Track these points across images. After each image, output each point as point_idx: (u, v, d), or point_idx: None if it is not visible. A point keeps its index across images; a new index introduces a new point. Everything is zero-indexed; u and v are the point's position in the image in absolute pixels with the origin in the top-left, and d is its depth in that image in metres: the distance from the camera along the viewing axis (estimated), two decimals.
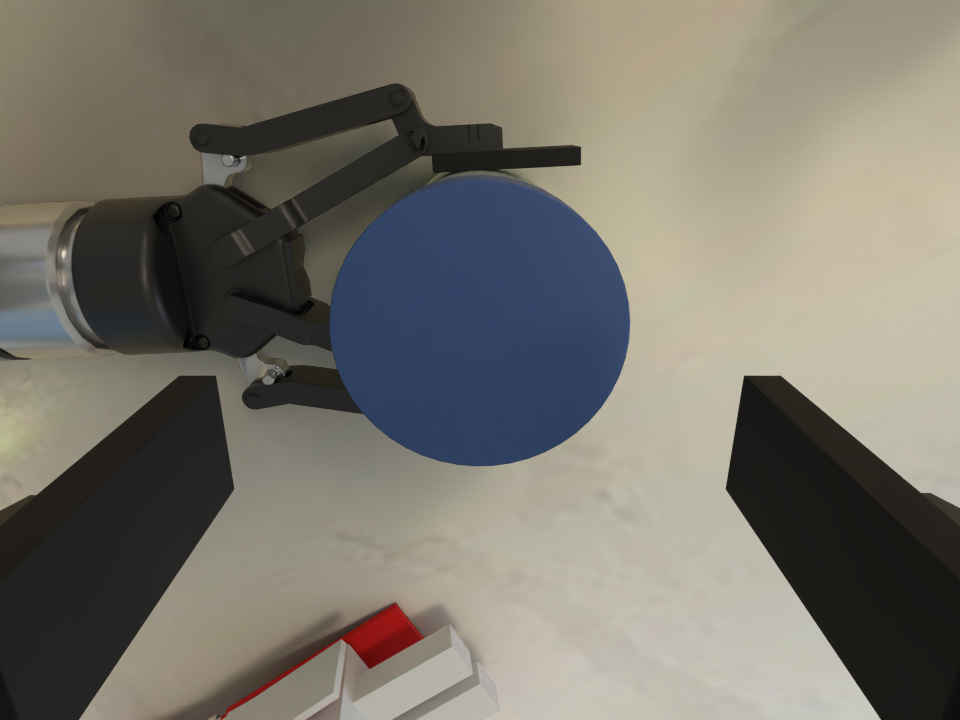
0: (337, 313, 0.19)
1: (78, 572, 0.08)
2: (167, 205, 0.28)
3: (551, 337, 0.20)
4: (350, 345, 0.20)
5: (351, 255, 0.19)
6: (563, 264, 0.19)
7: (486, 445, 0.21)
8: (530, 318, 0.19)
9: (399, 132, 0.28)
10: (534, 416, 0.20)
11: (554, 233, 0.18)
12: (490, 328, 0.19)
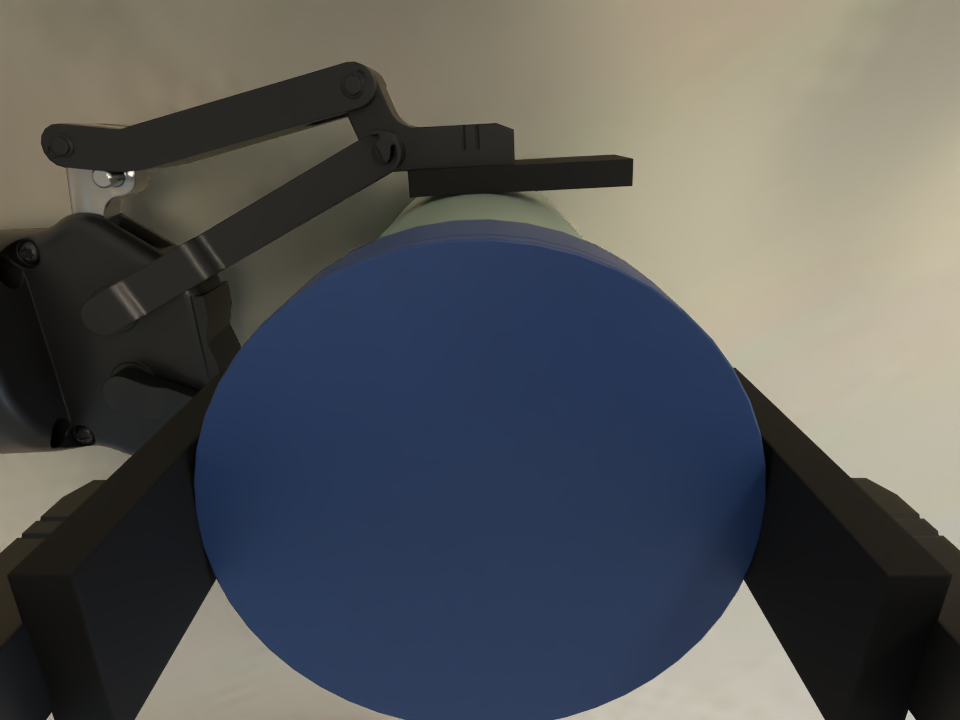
0: (207, 486, 0.10)
1: (150, 551, 0.09)
2: (19, 244, 0.19)
3: (615, 527, 0.10)
4: (237, 540, 0.10)
5: (226, 383, 0.09)
6: (644, 399, 0.10)
7: (492, 698, 0.12)
8: (577, 495, 0.10)
9: (359, 136, 0.18)
10: (579, 653, 0.11)
11: (629, 342, 0.09)
12: (500, 511, 0.10)
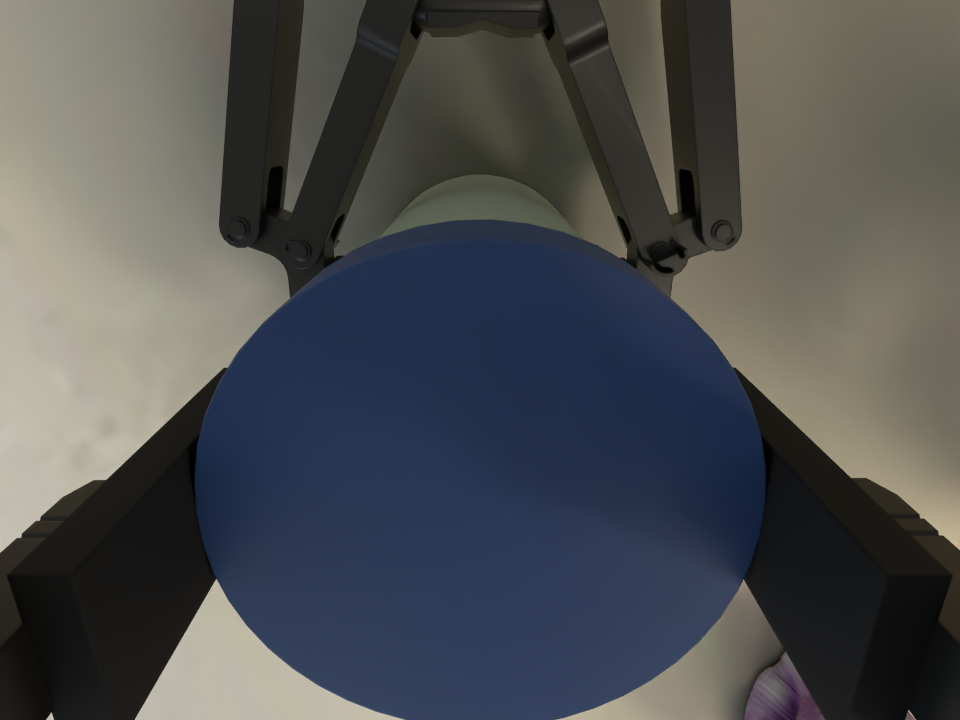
0: (208, 484, 0.10)
1: (150, 551, 0.09)
2: None
3: (615, 527, 0.10)
4: (236, 538, 0.10)
5: (228, 381, 0.09)
6: (645, 401, 0.10)
7: (490, 698, 0.12)
8: (577, 495, 0.10)
9: None
10: (578, 654, 0.11)
11: (631, 343, 0.09)
12: (500, 511, 0.10)
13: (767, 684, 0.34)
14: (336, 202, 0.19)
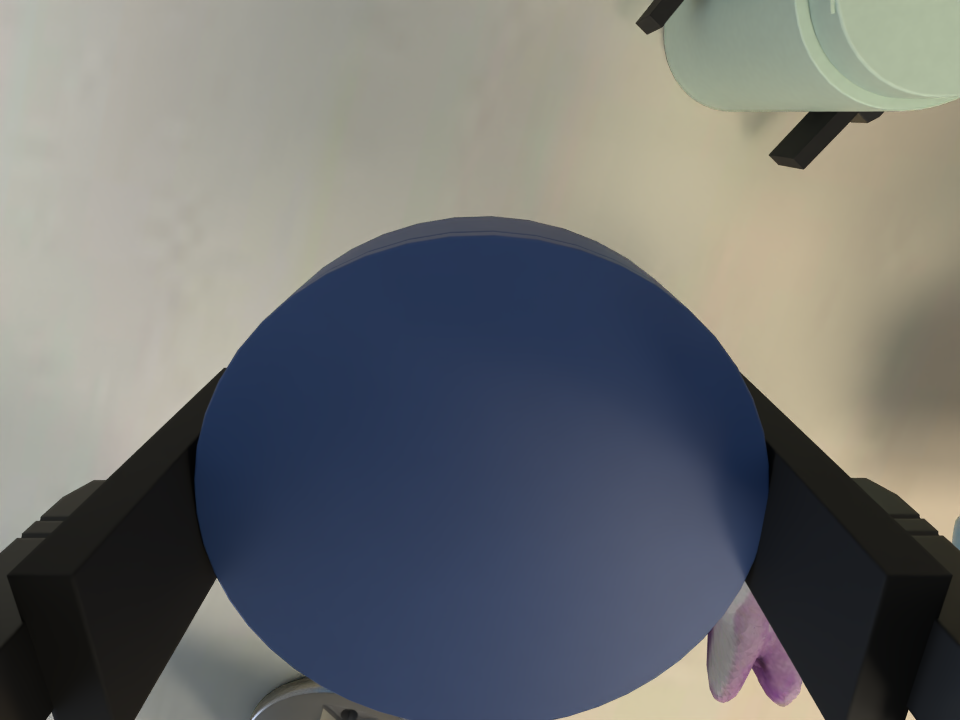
0: (208, 484, 0.10)
1: (150, 551, 0.09)
2: None
3: (617, 525, 0.10)
4: (237, 538, 0.10)
5: (227, 381, 0.09)
6: (647, 397, 0.09)
7: (493, 697, 0.12)
8: (579, 493, 0.10)
9: None
10: (581, 652, 0.11)
11: (632, 340, 0.09)
12: (502, 510, 0.10)
13: None
14: None
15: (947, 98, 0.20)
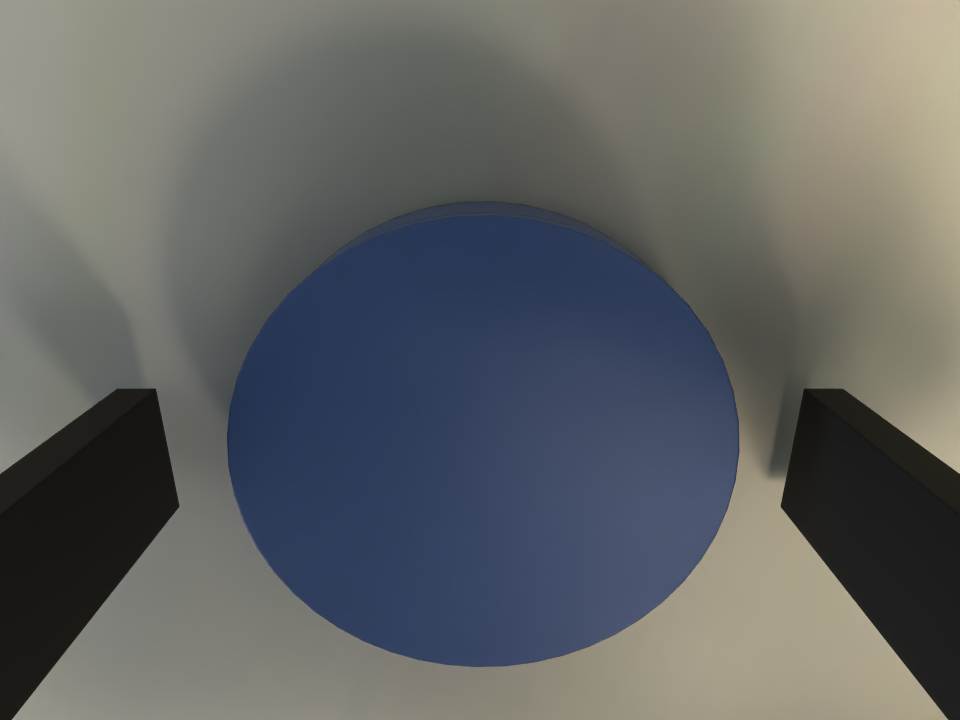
0: (239, 440, 0.11)
1: None
2: None
3: (604, 477, 0.12)
4: (265, 490, 0.12)
5: (258, 346, 0.11)
6: (629, 360, 0.11)
7: (494, 638, 0.13)
8: (569, 447, 0.11)
9: None
10: (573, 595, 0.13)
11: (615, 308, 0.10)
12: (501, 463, 0.11)
13: None
14: None
15: None
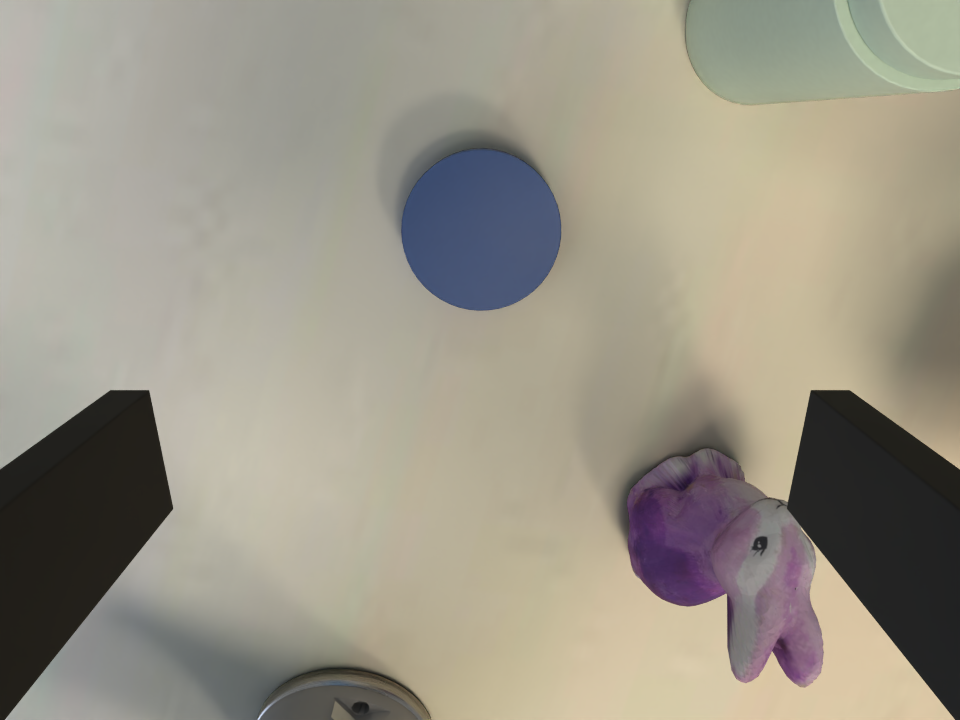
0: (406, 221, 0.36)
1: None
2: None
3: (519, 234, 0.37)
4: (412, 239, 0.37)
5: (414, 189, 0.36)
6: (524, 194, 0.36)
7: (485, 297, 0.38)
8: (508, 224, 0.36)
9: None
10: (511, 280, 0.38)
11: (519, 177, 0.36)
12: (487, 229, 0.37)
13: (674, 463, 0.43)
14: None
15: None
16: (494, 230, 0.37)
